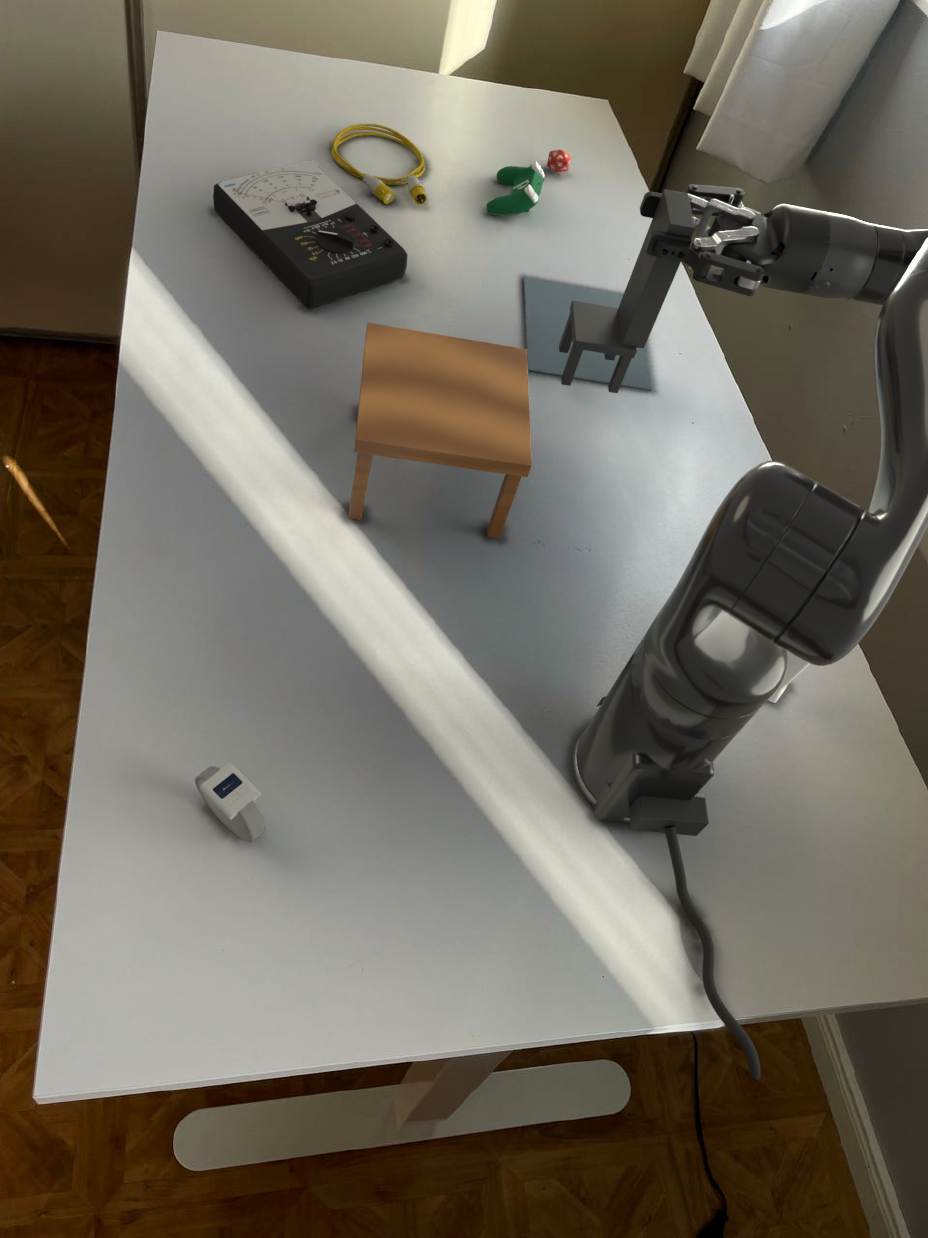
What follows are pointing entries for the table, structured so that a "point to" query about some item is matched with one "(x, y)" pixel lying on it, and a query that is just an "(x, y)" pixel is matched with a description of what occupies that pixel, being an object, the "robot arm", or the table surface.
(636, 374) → the mat
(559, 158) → the die
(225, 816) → the wristwatch
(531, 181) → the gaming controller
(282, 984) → the table surface
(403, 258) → the multimeter
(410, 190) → the extension cord
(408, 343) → the side table
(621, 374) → the chair
